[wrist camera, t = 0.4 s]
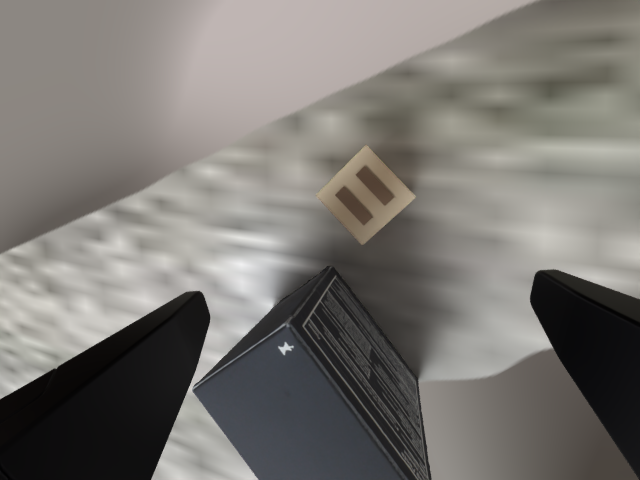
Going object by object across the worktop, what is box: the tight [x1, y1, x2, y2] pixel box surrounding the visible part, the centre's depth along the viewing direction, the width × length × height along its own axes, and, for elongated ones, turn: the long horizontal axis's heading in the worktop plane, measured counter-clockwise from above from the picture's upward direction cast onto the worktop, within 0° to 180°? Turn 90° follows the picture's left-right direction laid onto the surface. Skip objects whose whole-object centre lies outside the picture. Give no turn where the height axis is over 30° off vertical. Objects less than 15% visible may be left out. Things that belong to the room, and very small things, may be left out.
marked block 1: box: [316, 145, 416, 246], centre depth 20 cm, size 4×4×4 cm
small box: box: [192, 266, 431, 480], centre depth 18 cm, size 11×6×10 cm, turn 38°
